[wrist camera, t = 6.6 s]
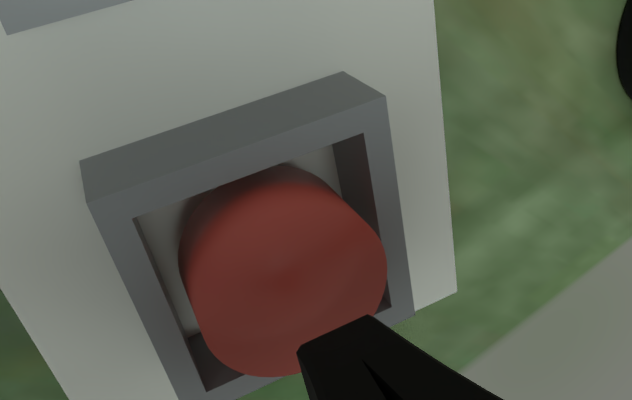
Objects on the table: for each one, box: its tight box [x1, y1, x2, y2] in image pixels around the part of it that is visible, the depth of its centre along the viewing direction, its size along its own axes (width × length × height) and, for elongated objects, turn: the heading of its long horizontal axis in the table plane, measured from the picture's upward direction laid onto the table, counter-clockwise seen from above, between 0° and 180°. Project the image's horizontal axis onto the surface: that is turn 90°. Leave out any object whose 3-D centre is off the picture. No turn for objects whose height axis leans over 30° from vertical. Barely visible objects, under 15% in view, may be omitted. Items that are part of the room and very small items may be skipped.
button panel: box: [0, 0, 457, 400], centre depth 12 cm, size 11×19×5 cm, turn 12°
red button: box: [178, 166, 387, 377], centre depth 13 cm, size 4×4×2 cm
